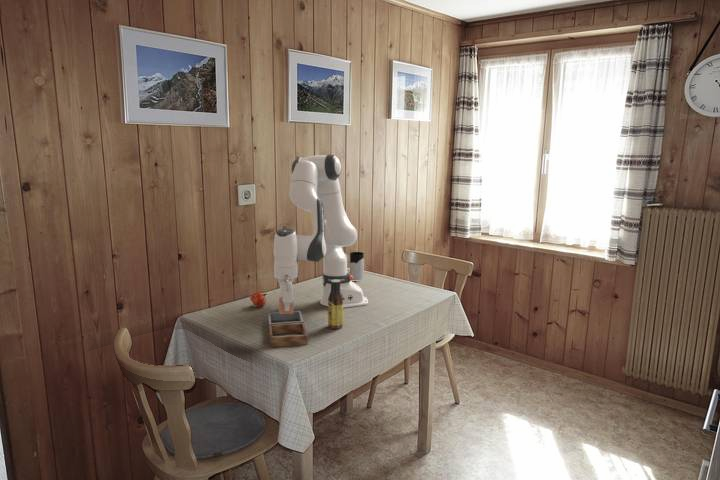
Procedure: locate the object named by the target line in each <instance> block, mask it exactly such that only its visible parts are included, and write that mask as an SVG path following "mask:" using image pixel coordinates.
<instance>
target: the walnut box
mask: <svg viewBox="0 0 720 480" xmlns="http://www.w3.org/2000/svg"><path fill="white" fill-rule="evenodd" d="M268 329H269V330H270V332H269V343H270V348H274V347H275V348H276V346H277V347H287V346H289V347H290V346H300V345H301V346H302V345H308V333H307V329H306V326H305V322H304V323H295V324H280V325H269V324H268ZM269 330H268V331H269ZM293 333H295V334H296V335H294V334H293ZM297 333H302V334H297ZM278 334H279V335H280V334H281V335H282V334H293V335H282V336H273V335H278Z"/></svg>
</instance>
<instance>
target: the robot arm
mask: <svg viewBox="0 0 720 480" xmlns="http://www.w3.org/2000/svg"><path fill="white" fill-rule="evenodd" d="M342 169H343V168H342V162H341V160H340V158H339V157H338V156H337V155H336V154H316V155H311V156H305V157H303V156H302V157H299V158H296V159H295V160H294V161H293V162H292V164H291V177H290V181H289V182H290V183H289V188H288V197H289V199H290V202H291V203H293V205H295V206H296V207H297V208H299V209H301V210H304V211H305V212H308V213H310V214H311V215H312V228H313V229H312V230H313V231H312V232H313V233H312V234H310V235H306V234H305V235H303V234H302V235H300V234H297V231H296V230H295V229H292V228H282V229H281V228H280V229H279V230H276V231H275V234H274V239H273V256H274V262H273V263H274V264H273V278H274V279H277V282H278V283H279V289H280V293H281V298H282V300H283V303H284V305H285V311H289V310H290V303H292V302H293V303H294V293H293V292H294V291H293V283H295V279H296V278H298V276H299V272H298V271H299V266H298V260H299V261H309V262H314V263H318V262H320V261H321V260H322V261H323V262H322V263H323V264H322V265H323V273H322V283H321V284H322V293H321V299H320V302H319V303H320V304H321V305H322V306H324V307H325V306H326V307H328V298H329V295H330V292H331V280H334V279H338V280H340V281H341V284H340V292H341V294H342V295H343V309H345V308H346V309H347V308H352V307H353V308H354V307H360V306H361V307H362V306H367V305H368V304H369V299H368V297H366V296H364V292H363V289H362V288H361V287H360V286H359V285H358V284H357V283H356V282H352V281H351V280H353V276H352V275H351V274H350V273H349V272H348V271H347V270H348V257H347V255H345V254H346V253H345V252H344V249H343V248H344V247H346V248H347V247H351V246H353V245H354V244H355V243H356V242H357V239H358V231H357V229H356V228H355V226H354V225H353V224H352V223H351V221H350V219H349V217H348V214H347V213H346V210H345V207H344V203H343V197H342V189H341V183H340V180H339V177H340V176H341V174H342Z"/></svg>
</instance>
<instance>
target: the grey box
mask: <svg viewBox="0 0 720 480" xmlns="http://www.w3.org/2000/svg"><path fill="white" fill-rule="evenodd" d="M267 316H268V320H267V321H268V326H269V325H280V324H295V323H304V324H305V322H304V319H303V315H302V312H301V310H295V311H294V310H293V314H280V311H279V312H268V313H267ZM297 320H298V321H297ZM278 321H279V322H278ZM281 321H282V322H281ZM283 321H285V322H283ZM268 332H269V333H270V330H268Z"/></svg>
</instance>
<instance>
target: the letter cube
mask: <svg viewBox="0 0 720 480" xmlns="http://www.w3.org/2000/svg"><path fill="white" fill-rule="evenodd" d="M278 299H279V305H278V306H279V312H280V314H293V311H294V301H293V302H292V303H290V310H289V311H285V305H284V303H283V300H282V297H279V298H278Z"/></svg>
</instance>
